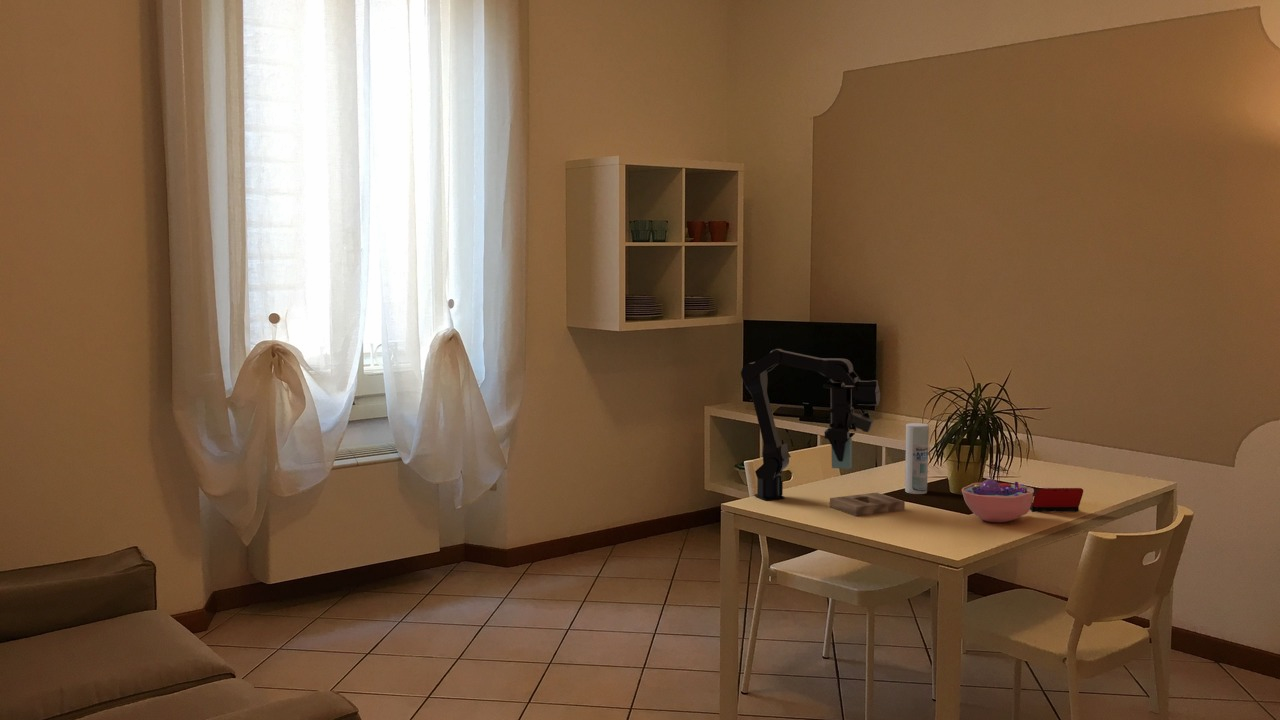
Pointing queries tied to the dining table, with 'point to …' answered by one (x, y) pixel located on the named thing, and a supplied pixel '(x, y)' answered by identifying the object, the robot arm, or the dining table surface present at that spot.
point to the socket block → (867, 504)
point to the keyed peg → (846, 458)
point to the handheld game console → (1057, 500)
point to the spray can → (916, 458)
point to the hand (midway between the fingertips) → (841, 460)
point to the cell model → (998, 500)
